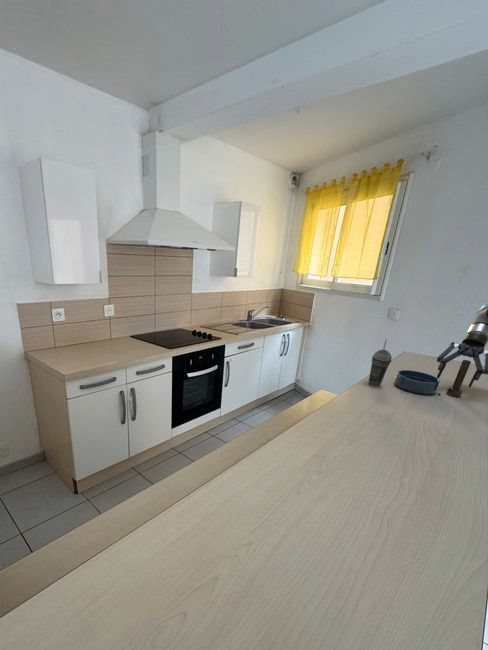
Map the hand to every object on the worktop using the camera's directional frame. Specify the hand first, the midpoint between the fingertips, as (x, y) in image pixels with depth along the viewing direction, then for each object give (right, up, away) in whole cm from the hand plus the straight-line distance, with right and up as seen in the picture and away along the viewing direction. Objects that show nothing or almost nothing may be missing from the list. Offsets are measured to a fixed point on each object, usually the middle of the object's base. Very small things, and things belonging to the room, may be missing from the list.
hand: (453, 380), depth 131 cm
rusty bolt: (+2, -6, +3) cm, 7 cm away
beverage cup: (-27, -2, +10) cm, 28 cm away
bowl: (-10, -3, +8) cm, 14 cm away
